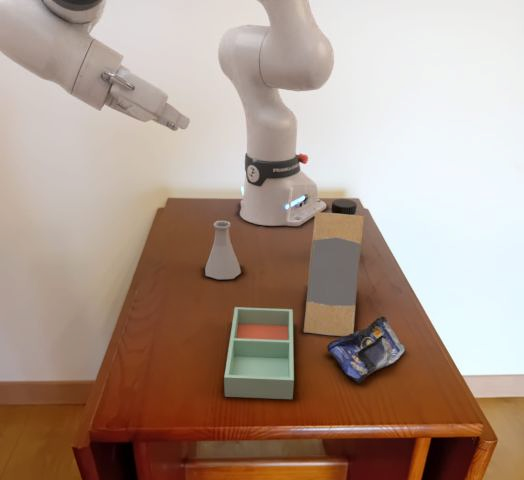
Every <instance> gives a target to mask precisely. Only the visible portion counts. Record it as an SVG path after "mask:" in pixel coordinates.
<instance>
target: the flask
mask: <svg viewBox="0 0 524 480" xmlns="http://www.w3.org/2000/svg"><path fill="white" fill-rule="evenodd" d="M213 228H214V233H215V234H214V240H213V244H212V247H211V250H210V254H209V257H208V259H207V262H206V264H205V268H204V270H205V276H206V277H209V278H212V279H215V280H234V279H235V278H236V277H238V276H239V275H241V273H242V270H241V265H240V262H239V261H238V258H237V256H236V255H237V254H236V253H235V250H234V247H233V245H232V243H231V238H230V228H231V222H230V221H228V220H216V221H215V222H213Z"/></svg>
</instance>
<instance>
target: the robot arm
mask: <svg viewBox="0 0 524 480" xmlns="http://www.w3.org/2000/svg"><path fill="white" fill-rule="evenodd" d="M256 1H257V2H258V3H259V4H261V5H262V7H263V9H264V10H265V12H266V14H267V17H268V20H269V21H268V22H269V25H258V24H245V25H238V26H234V27H230V28H228V29H226V31H225V32H224V33H223V35H222V37H221V39H220V41H219V43H218V49H217V59H218V63H219V64H218V65H219V66H220V69H221V71H222V73H223V74H224V75H225V76H226V78H228V80H229V81H230V82H231V84H232V85H233V87H234V88H235V90H236V92H237V95H238V97H239V99H240V103H241V104H242V108H243V112H244V116H245V125H246V127H245V129H246V153H245V155H244V172H245V176H244V182H243V186H241V188H240V190H241V194H242V200H240V205H239V207H240V211H239V216H240V217H241V218H242V219H243V220H244V221H246V222H249V223H251V224H254V225H258V226H268V227H276V226H277V227H278V226H287V227H300V226H301V225H303V224H304V223H306V222H308V221H309V220H310V219H312V218H313V217H314V218H315V213H316V212H323V211H324V210H325V209H327V203H326V202H325V201H323V200H322V199H320V198H318V186H317V183H316V182H315V181H314V180H313V179H312V178H311V177H310V176H308V175H307V174H306V173H305V172H304V171H303V170H301V166H300V163H301V164H302V165H306V164H307V163H308V162H309V156H308V155H307V154H303V153H299V154H297V141H298V120H297V116H296V114H295V113H294V111H292V110H291V108H290V107H288V106H287V105H286V104H285V103H284V101H283V99H282V96H281V94H280V90H286V91H293V92H307V91H317V90H320V89H322V88H323V87H324V86H325V85H326V84H327V83H328V81H329V79H330V77H331V75H332V74H333V69H334V67H335V66H334V65H335V52H334V49H333V45H332V44H331V41H330V39H329V38H328V37H327V36H326V35H325V34H324V32H323V31H322V30H321V28H320V26H319V25H318V23H317V22H316V19H315V17H314V14H313V12H312V9H311V6H310V2H309V0H256ZM106 5H107V0H0V53H1V54H2V55H4V56H5V57H7V58H8V59H10V60H11V61H12V62H14V63H16V64H17V65H18V66H20V67H22V68H23V69H24V70H26V71H28V72H30V73H32V74H34V75H35V76H37V77H38V78H40V79H42V80H45V81H49V82H52V83H54V84H56V85H58V86H59V87H60V88H62V89H63V90H64V91H65V92H66V93H67V94H69V95H70V96H72V97H74V98H76V99H78V100H79V101H81V102H83V103H85V104H86V105H88V106H90V107H92V108H93V109H95V110H97V111H99V112H100V111H101V112H102V108H103V107H104V106H107V107H108V108H110V109H112V110H115V111H117V112H119V113H122V114H124V115H126V116H128V117H130V118H132V119H135V120H136V121H140V122H143V123H147V122H150V121H152V122H154V123H157V124H159V125H161V126H163V127H166V128H167V129H169V130H171V131H173V132H177V131H178V129H181V130H186V129H188V126H189V125H190V123H191V121H190V120H191V119H190V118H189V117H188V116H187V115H184V114H182V113H181V112H180V111H179V110H178V109H176V108H175V107H174V106H173V105H172V104H170V103H168V102H167V101H168V99H169V95H168V93H166V92H165V91H163V89H161V88H159V87H158V86H156V85H154V84H152V83H151V82H149V81H147V80H145V79H144V78H142V77H140V76H138V75H137V74H135V73H133V72H131V69H129V68H126V67H125V66H124V65H122V62H123V59H124V55H122V54H121V53H119V52H117V51H116V50H114V49H113V48H111V47H109V46H108V45H107V44H105V43H104V42H101V41H100V40H98V39H96V38H95V37H93V36H92V35H90V33H91V32H92V30H93V29H94V28H95V26H97V24H98V23H99V22H100V20H101V19H102V17H103V14H104V11H105V8H106Z"/></svg>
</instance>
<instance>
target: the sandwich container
mask: <svg viewBox="0 0 524 480" xmlns="http://www.w3.org/2000/svg"><path fill="white" fill-rule="evenodd" d="M313 219H314V220H313V228H312V237H311V245H310V256H309V268H308V277H307V278H308V279H307V289H306V291H307V292H306V303H305V314H304V324H303V325H304V326H303V333H308V334H315V335H316V334H317V335H323V336H324V335H325V336H334V337H335V336H336V337H341V336H346V335H350V334H353V333H354V332H355V331H354V329H355V317H356V307H357V306H356V305H357V293H358V283H359V282H358V281H359V271H360V261H361V260H360V259H361V249H362V242H363V233H364V232H363V231H364V224H365V216H364V215H358V214H357V215H356V214H355V215H348V214H337V213H332V212H323V211H321V212H316V213H315V216H314V218H313Z"/></svg>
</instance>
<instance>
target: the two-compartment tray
mask: <svg viewBox="0 0 524 480" xmlns="http://www.w3.org/2000/svg"><path fill="white" fill-rule="evenodd" d="M230 329H231V330H230V335H229V343H228V349H227V356H226V363H225V370H224V375H223V385H224V388H223V389H224V397H225V398H246V399H247V398H250V399H252V398H253V399H273V400H293V398H294V397H293V396H294V387H295V386H294V385H295V366H294V365H295V364H294V363H295V360H294V358H295V357H294V310H293V309H290V308H269V307H268V308H266V307H239V306H234V309H233V316H232V323H231V328H230Z"/></svg>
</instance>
